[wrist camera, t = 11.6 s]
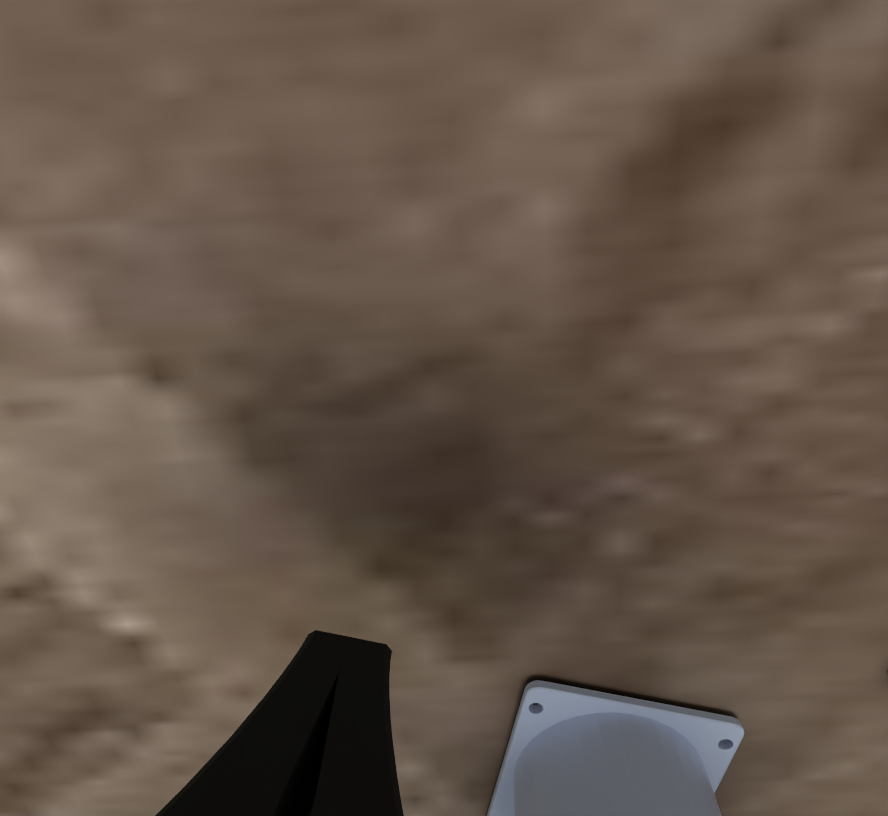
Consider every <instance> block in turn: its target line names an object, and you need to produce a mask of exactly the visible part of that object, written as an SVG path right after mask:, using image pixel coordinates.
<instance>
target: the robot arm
mask: <svg viewBox="0 0 888 816" xmlns="http://www.w3.org/2000/svg"><path fill="white" fill-rule="evenodd" d="M391 653H392V651H391V649H390V648H389V647H388V646H387V644H382V643H377V642H372V641H367V640H362V639H357V638H352V637H347V636H342V635H337V634H332V633H327V632H322V631H317V630H316V631H314V632H312V633H310V634H309V635H308V636H307V638H306V640H305V641H304V643H303V645H302V646H301V648H300V649H299V651H298V652H297V654H296V655H295V657H294V658H293V659H292V661H291V662H290V664H289V665H288V667H287V668H286V669H285V671H284V672H283V673H282V675H281V676H280V677H279V679H278V680H277V681H276V682H275V684H274V685H273V686H272V688H271V689H270V690H269V692H268V693H267V694H266V695H265V697H264V698H263V699H262V700H261V701H260V703H259V704H258V705H257V706H256V707H255V709H254V710H253V711H252V712H251V713H250V715H249V716H248V717H247V718H246V719H245V721H244V722H243V723H242V724H241V725H240V727H239V728H238V729H237V730H236V731H235V732H234V734H233V735H232V736H231V737H230V738H229V739H228V740H227V742H226V743H225V744H224V745H223V746H222V747H221V748H220V749H219V750H218V751H217V752H216V753H215V755H214V756H213V757H212V758H211V759H210V760H209V761H208V762H207V763H206V764H205V765H204V766H203V767H202V769H201V770H200V771H199V772H198V773H197V774H196V775H195V776H194V777H193V778H192V779H191V780H190V781H189V783H188V784H187V785H186V786H185V787H184V788H183V789H182V790H181V791H180V792H179V793H178V794H177V795H176V796H175V797H174V798H173V799H172V800H171V801H170V802H169V803H168V804H167V805H166V806H165V807H164V808H163V809H162V810H161V811H160V812H159V813H158V814H157V815H156V816H404V815H403V810H402V804H401V799H400V792H399V786H398V779H397V772H396V764H395V756H394V748H393V740H392V730H391V719H390V700H389V672H390V659H391ZM533 703H539V704H538V705H533ZM743 736H744V730H743V727H742V725H741V723H740V721H739V720H738V719H737V718H734V717H731V716H726V715H720V714H715V713H710V712H705V711H699V710H694V709H689V708H684V707H678V706H673V705H668V704H662V703H657V702H652V701H647V700H641V699H636V698H631V697H626V696H620V695H615V694H610V693H604V692H599V691H594V690H589V689H583V688H578V687H573V686H568V685H562V684H557V683H552V682H546V681H541V680H535V681H532V682H530V683H528V684H527V685H526V687H525V689H524V693H523V696H522V699H521V703H520V706H519V709H518V713H517V716H516V719H515V723H514V726H513V729H512V733H511V736H510V739H509V743H508V746H507V749H506V753H505V756H504V759H503V763H502V766H501V769H500V773H499V776H498V779H497V783H496V786H495V789H494V793H493V796H492V799H491V803H490V806H489V809H488V813H487V816H722V815H721V812H720V809H719V806H718V803H717V800H716V797H715V795H714V793H715V791H716V789H717V787H718V786H719V784H720V782H721V780H722V778H723V776H724V774H725V772H726V770H727V768H728V766H729V764H730V762H731V760H732V758H733V756H734V754H735V752H736V750H737V748H738V746H739V744H740V742H741V740H742V738H743Z"/></svg>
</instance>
